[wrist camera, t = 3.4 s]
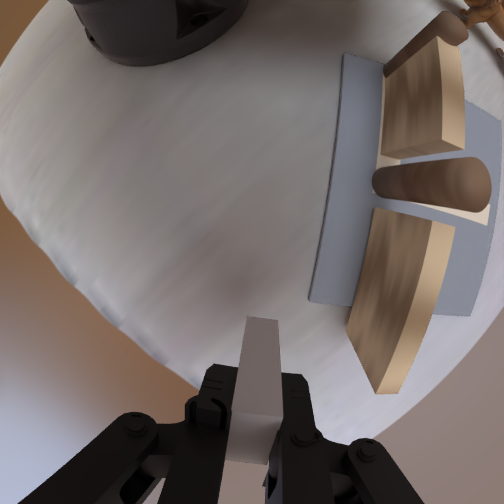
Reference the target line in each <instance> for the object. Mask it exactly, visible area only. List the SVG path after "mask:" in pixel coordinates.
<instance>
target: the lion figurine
mask: <svg viewBox="0 0 504 504" xmlns="http://www.w3.org/2000/svg"><path fill="white" fill-rule="evenodd" d="M464 2H465V3H466V4H467V5H468V6H469V7H470V8H469V9H468V10H467V11H466V10H464V9H460V12H461V14H462V15H463V16H465V17H468V19H467V20H465V21H464V20H463V19H460V20H461V21H462V23H463V24H464V25H465V27H466V29H468V28H471V27H472V26H473V25H474V24H477V23H480V22H483V23H484V22H487V23H488V25H489V26H490V27H491V29H492V30H493V31H494V32H495V34H496V35H497V36H498V37H499V38H500V39H502V40H503V41H504V0H464ZM497 52H498V54H499V55H500V56H501V57H503V58H504V52H503V50H502V49H501V48H497Z"/></svg>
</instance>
